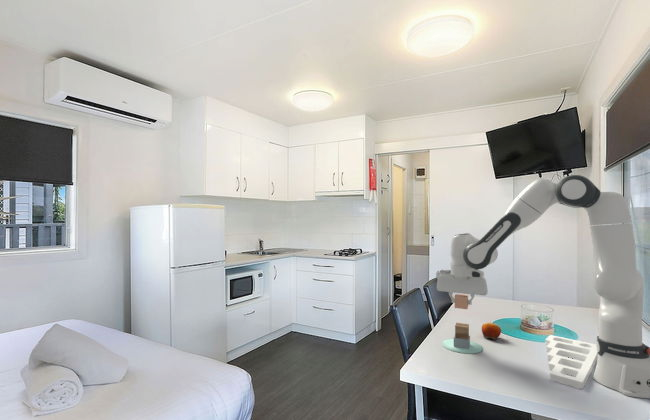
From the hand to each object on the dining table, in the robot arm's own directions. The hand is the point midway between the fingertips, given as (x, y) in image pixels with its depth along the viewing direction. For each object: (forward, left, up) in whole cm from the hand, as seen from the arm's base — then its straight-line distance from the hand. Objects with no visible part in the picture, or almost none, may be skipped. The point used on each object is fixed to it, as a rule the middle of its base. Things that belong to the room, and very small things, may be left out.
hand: (461, 303), depth 146 cm
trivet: (-36, -3, -19) cm, 41 cm away
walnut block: (0, 0, -14) cm, 14 cm away
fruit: (-11, -17, -18) cm, 27 cm away
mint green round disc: (0, 0, -18) cm, 18 cm away
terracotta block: (0, 0, -2) cm, 2 cm away
